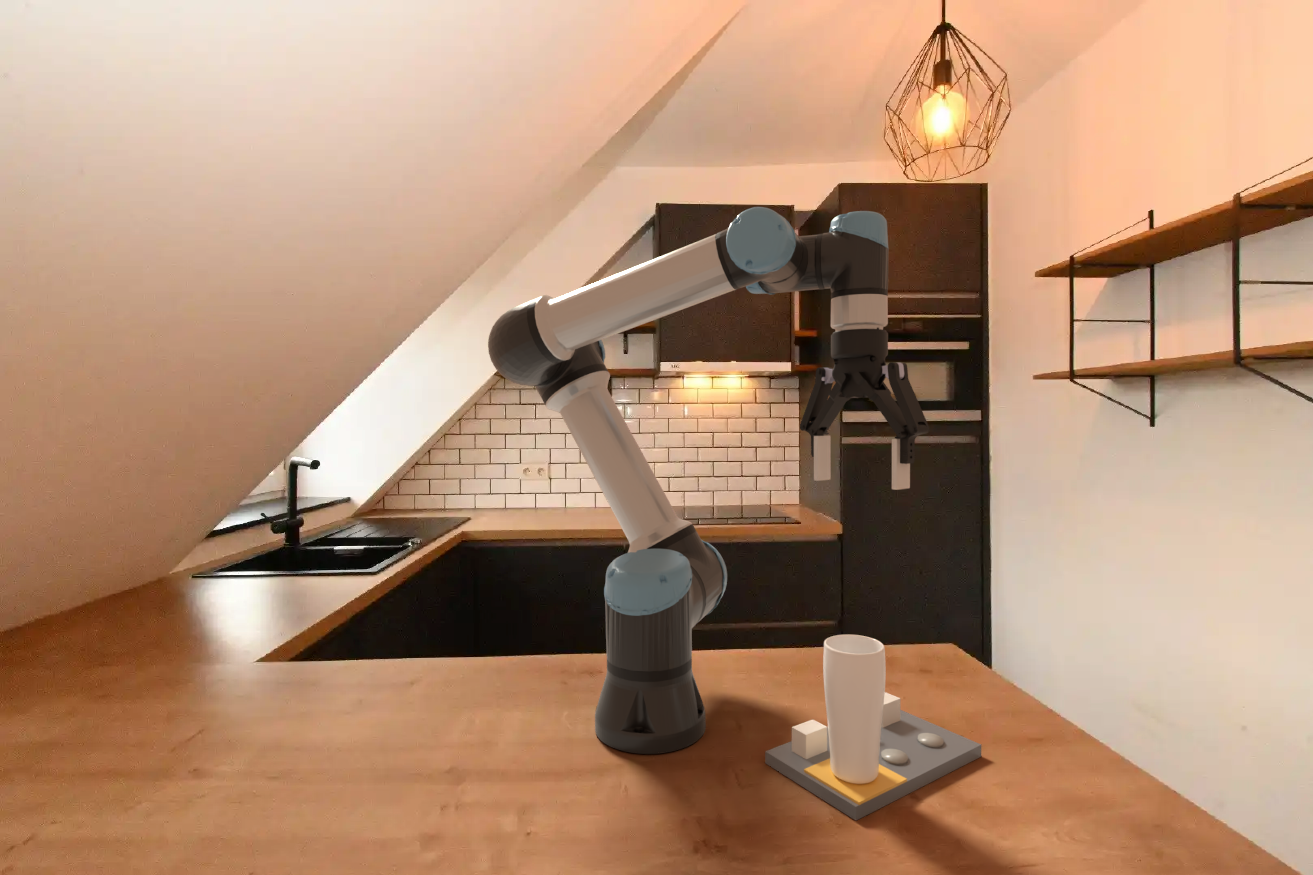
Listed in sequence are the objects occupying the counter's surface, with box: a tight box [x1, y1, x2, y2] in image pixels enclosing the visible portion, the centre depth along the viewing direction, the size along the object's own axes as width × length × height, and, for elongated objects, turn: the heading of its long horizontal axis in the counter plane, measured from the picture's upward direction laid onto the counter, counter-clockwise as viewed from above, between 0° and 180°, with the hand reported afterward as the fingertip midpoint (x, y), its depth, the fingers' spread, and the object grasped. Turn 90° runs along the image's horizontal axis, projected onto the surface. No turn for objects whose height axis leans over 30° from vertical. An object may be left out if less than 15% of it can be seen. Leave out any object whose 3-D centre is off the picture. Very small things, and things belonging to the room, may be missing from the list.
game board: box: [764, 691, 982, 821], centre depth 84 cm, size 14×23×4 cm, turn 123°
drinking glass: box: [822, 634, 887, 784], centre depth 77 cm, size 7×7×15 cm
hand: (859, 484), depth 94 cm, fingers open, 13 cm apart
